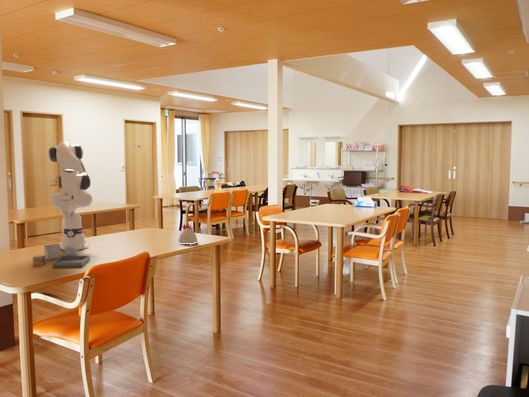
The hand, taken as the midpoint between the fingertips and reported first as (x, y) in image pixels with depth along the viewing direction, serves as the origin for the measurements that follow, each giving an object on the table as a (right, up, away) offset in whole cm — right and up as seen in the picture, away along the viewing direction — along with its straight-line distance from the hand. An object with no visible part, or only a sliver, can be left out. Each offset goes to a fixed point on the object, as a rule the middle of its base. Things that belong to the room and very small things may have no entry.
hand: (70, 218), depth 278 cm
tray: (+5, -26, -10) cm, 29 cm away
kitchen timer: (+62, -21, +60) cm, 88 cm away
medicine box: (-13, -25, +5) cm, 28 cm away
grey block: (0, -25, +2) cm, 25 cm away
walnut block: (-12, -26, -13) cm, 32 cm away
